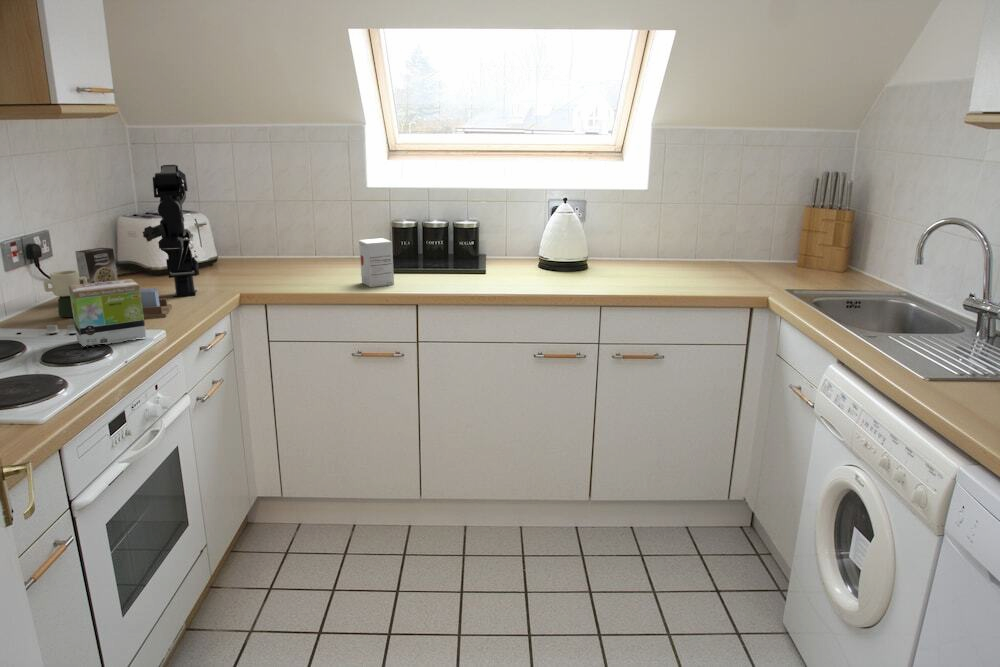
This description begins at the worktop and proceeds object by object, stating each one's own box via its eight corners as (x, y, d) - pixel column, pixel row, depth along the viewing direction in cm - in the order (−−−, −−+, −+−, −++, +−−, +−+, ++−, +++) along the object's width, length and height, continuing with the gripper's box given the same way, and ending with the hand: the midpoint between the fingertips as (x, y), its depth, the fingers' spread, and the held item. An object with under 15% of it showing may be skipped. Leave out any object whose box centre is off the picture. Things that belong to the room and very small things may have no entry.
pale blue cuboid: (127, 310, 219) (124, 290, 217) (160, 307, 221) (157, 287, 219) (123, 313, 214) (120, 293, 212) (157, 311, 216) (154, 291, 215)
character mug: (92, 311, 222) (85, 268, 218) (92, 316, 216) (85, 272, 212) (50, 316, 217) (42, 272, 213) (49, 321, 211) (41, 276, 207)
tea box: (82, 349, 184) (72, 291, 180) (76, 340, 192) (66, 284, 188) (147, 339, 192) (139, 283, 188) (139, 331, 200) (131, 277, 196)
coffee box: (94, 303, 232) (86, 252, 227) (82, 301, 235) (73, 250, 230) (121, 297, 239) (113, 248, 235) (109, 295, 242) (101, 246, 238)
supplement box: (361, 282, 257) (358, 239, 252) (385, 280, 261) (383, 237, 256) (369, 287, 249) (366, 243, 245) (394, 284, 253) (392, 240, 249)
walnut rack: (121, 311, 222) (119, 301, 221) (171, 307, 225) (170, 297, 224) (112, 321, 211) (110, 310, 210) (165, 317, 214) (164, 306, 213)
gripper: (149, 212, 228) (156, 262, 233) (135, 220, 211) (143, 274, 216) (188, 210, 231) (194, 260, 236) (177, 219, 214) (184, 272, 218)
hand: (179, 266), depth 226 cm, fingers open, 9 cm apart
